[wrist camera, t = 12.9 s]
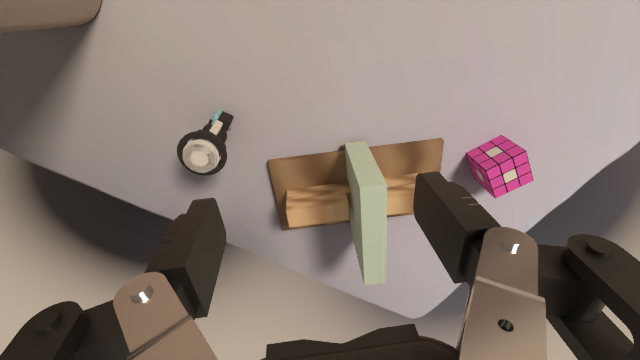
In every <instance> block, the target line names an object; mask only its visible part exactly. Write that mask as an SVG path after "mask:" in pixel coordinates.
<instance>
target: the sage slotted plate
mask: <svg viewBox="0 0 640 360" xmlns="http://www.w3.org/2000/svg"><path fill="white" fill-rule="evenodd" d="M345 155H346V170H347V179H348V182H349V186H350V194H351V208H349V212H350V226H351V232H352V236H353V240H354V244H355V249H356V253H357V257H358V261H359V265H360V269H361V274H362V278H363V282H364V285H372V284H380V283H386V246H387V183H386V181H385V179H384V177H383V175H382V173H381V171H380V169H379V167H378V165H377V163H376V161H375V159H374V157H373V155H372V153H371V151H370V149H369V147H368V145H367V143H366V141H358V142H350V143H345Z"/></svg>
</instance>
